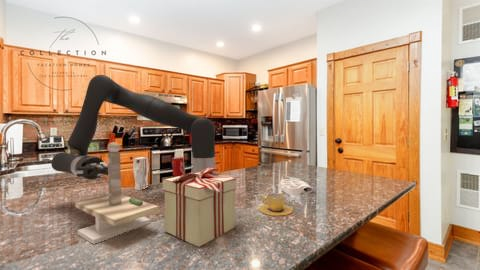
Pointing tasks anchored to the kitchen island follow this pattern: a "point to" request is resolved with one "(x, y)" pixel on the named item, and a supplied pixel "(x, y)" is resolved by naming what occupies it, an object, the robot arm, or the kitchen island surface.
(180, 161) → the beverage can
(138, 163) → the beer glass
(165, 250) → the kitchen island surface
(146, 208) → the platform
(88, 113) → the robot arm
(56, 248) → the kitchen island surface
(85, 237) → the deck stand
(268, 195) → the cup
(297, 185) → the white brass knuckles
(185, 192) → the gift box
